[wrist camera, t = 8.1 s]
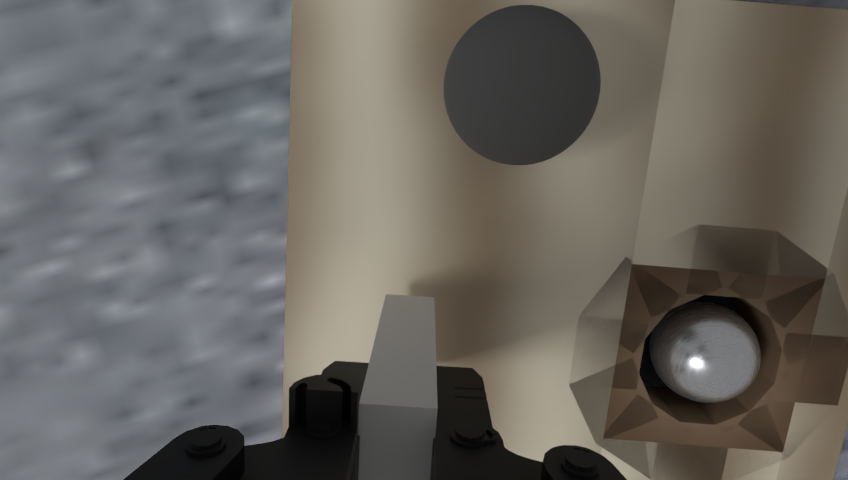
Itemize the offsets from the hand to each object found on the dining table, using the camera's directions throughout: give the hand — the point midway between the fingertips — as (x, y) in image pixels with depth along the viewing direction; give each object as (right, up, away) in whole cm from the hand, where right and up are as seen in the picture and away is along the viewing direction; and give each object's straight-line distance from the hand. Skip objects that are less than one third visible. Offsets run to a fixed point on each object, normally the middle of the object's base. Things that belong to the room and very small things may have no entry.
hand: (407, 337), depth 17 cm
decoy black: (+3, +7, -3) cm, 8 cm away
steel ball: (+10, -1, +2) cm, 10 cm away
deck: (+5, 0, +3) cm, 6 cm away
